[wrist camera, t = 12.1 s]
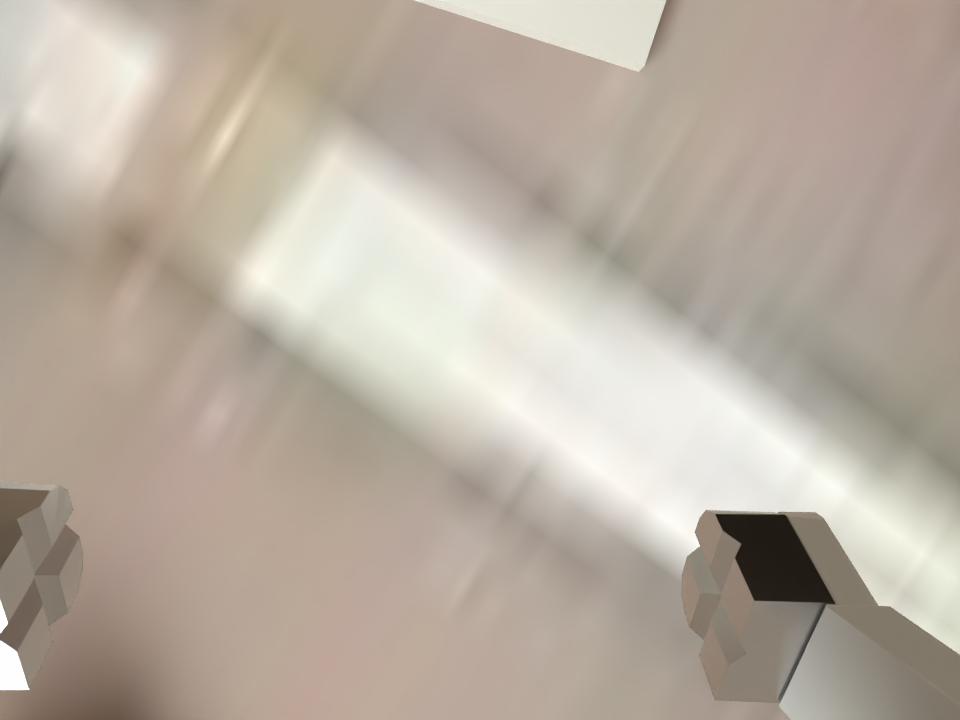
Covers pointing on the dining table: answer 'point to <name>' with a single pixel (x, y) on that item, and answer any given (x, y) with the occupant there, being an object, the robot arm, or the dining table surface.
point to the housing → (573, 24)
